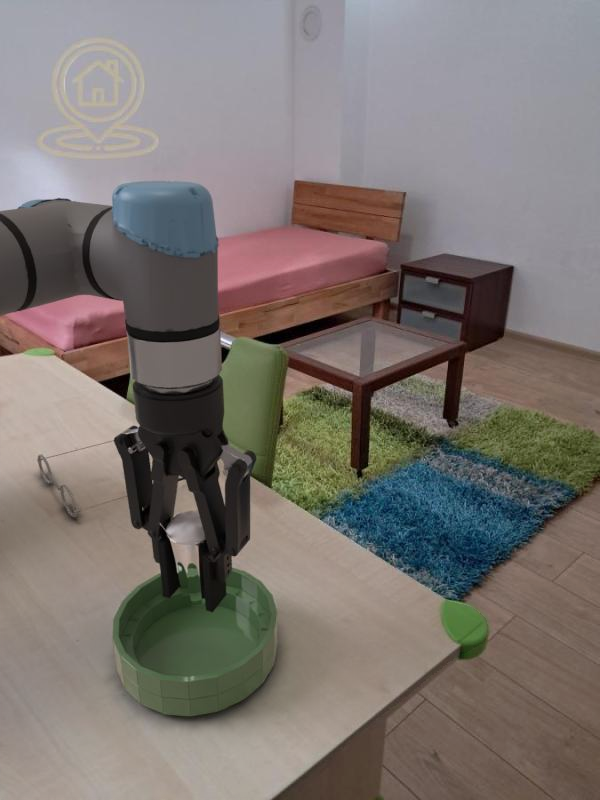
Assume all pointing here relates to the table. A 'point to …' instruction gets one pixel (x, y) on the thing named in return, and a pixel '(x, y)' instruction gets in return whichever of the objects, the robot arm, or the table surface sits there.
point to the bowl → (195, 646)
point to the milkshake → (188, 555)
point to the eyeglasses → (65, 485)
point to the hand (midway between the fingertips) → (194, 594)
